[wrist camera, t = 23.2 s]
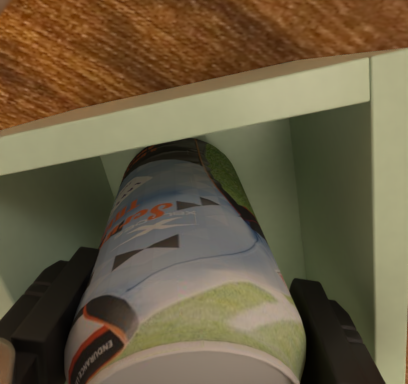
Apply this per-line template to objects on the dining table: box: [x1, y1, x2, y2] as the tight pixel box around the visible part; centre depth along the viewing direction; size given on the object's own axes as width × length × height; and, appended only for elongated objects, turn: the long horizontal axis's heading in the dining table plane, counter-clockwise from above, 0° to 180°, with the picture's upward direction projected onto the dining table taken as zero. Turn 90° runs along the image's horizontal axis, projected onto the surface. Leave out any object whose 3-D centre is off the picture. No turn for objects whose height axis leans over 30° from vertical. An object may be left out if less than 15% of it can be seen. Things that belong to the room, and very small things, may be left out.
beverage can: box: [64, 138, 306, 384], centre depth 12 cm, size 6×7×12 cm
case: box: [0, 48, 408, 384], centre depth 14 cm, size 16×12×10 cm
